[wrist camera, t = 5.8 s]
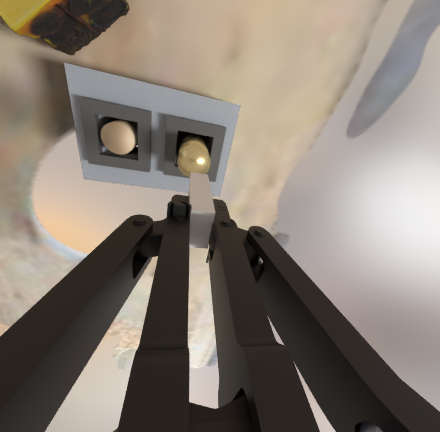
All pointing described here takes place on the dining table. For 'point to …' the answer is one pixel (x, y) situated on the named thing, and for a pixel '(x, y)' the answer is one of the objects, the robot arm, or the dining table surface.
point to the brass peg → (193, 156)
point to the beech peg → (120, 136)
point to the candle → (62, 20)
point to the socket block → (146, 129)
